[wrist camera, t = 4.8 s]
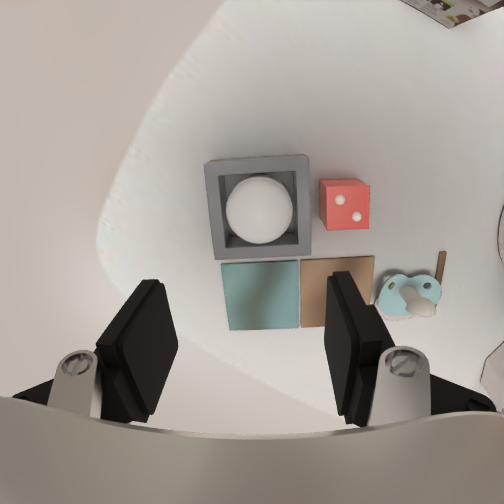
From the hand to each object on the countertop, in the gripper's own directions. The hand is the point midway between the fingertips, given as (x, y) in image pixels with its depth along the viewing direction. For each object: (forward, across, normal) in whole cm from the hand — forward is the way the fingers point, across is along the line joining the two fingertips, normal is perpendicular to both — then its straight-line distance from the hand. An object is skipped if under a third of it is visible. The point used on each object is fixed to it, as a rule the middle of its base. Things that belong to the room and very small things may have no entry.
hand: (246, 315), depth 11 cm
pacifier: (+18, -14, +10) cm, 25 cm away
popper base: (+18, -2, 0) cm, 18 cm away
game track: (+18, -7, +10) cm, 21 cm away
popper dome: (+17, 0, 0) cm, 17 cm away
